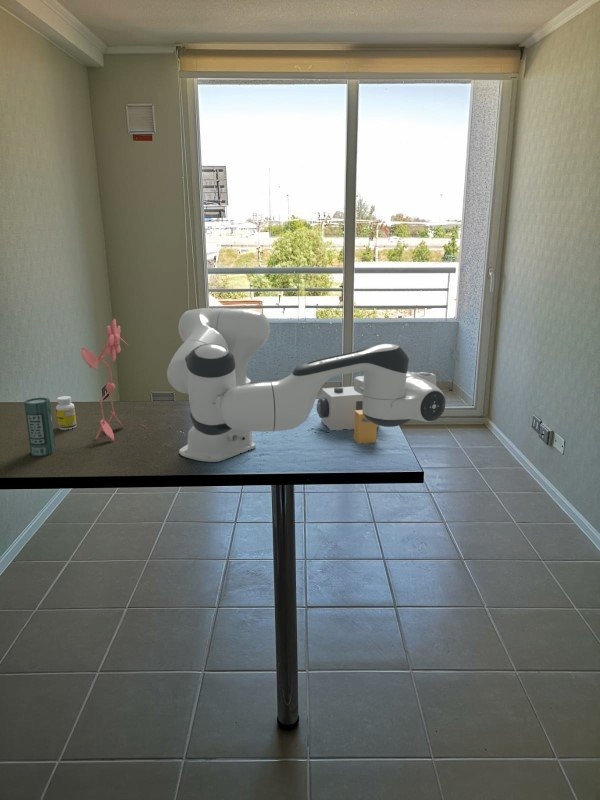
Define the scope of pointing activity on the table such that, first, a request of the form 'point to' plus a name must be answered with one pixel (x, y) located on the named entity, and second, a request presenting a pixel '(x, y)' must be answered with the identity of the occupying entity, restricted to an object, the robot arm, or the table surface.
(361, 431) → the tan box with label
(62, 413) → the supplement bottle
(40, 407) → the can
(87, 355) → the figurine
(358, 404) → the camera housing
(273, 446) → the table surface
